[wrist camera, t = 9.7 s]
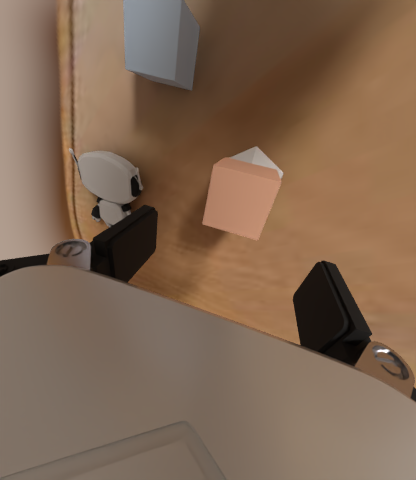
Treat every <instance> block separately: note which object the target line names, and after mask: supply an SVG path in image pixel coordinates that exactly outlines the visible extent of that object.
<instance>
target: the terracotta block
mask: <svg viewBox="0 0 416 480" xmlns="http://www.w3.org/2000/svg"><path fill="white" fill-rule="evenodd" d="M281 183H282V182H281V179H280V176H279V174H278V171H277V170H276V169H272V168H268V167H264V166H260V165H256V164H252V163H248V162H244V161H240V160H236V159H232V158H228V157H224V158H223V159H221V160H220V161H219V162H217V163H216V164H214V165H213V171H212V176H211V181H210V186H209V191H208V196H207V202H206V207H205V212H204V217H203V222H202V224H203V225H207V226H210V227H214V228H217V229H220V230H224V231H227V232H231V233H234V234H237V235H241V236H244V237H248V238H251V239H254V240H258V239H259V237H260V234H261V232H262V229H263V227H264V224H265V222H266V220H267V217H268V215H269V212H270V210H271V207H272V205H273V202H274V200H275V197H276V195H277V192H278V190H279V188H280V185H281Z"/></svg>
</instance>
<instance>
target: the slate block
mask: <svg viewBox="0 0 416 480" xmlns="http://www.w3.org/2000/svg"><path fill="white" fill-rule="evenodd" d="M123 3H124V37H125V69H126V70H129V71H131V72H133V73H135V74H138V75H140V76H142V77H144V78H146V79H149V80H151V81H154V82H158V83H162V84H167V85H171V86H175V87H179V88H183V89H187V90H191V91H192V86H193V79H194V71H195V63H196V55H197V47H198V39H199V31H200V26H199V25H198V23H197V21H196V20H195V18H194V16H193V15H192V13H191V11H190V10H189V8H188V6H187V5H186V3H185V1H184V0H123Z"/></svg>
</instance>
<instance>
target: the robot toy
mask: <svg viewBox="0 0 416 480" xmlns="http://www.w3.org/2000/svg"><path fill="white" fill-rule="evenodd" d="M69 151H70V153H71V154H72V156H73V158H74V160H75V162H76V164H77V166H78V170H79V173H80V177H81V180H82V183H83V184H84V186H85V187H86V188H87V189H88V190H89V191H90V192H92V193H93V194H95V195H96V196H98V199H97V202H98V205H96V206H95V207H94V208H93V210H92V218H93V219H94V220H95V219H96V221H97V222H100V220H101V218H102V219H103V220H104V221H105V223H106V225H107V226H109V227H111V226H113V225H114V224H116V223H117V222H119V221H120V220H122V219H123V218H125V217H126V216H128V215H130V214H131V212H130V209H131V207H130V205H129V202H131V201H133V200H135V199H136V198H137V197H138V196H139V195H140V194H141V191H142V189H143V185H142V184H141V179H140V175H139V168H137V167H136V168H135V167H134V166H133V165H132V164H131V163H130V162H129V161H128V160H126V159H124V158H123V157H121V156H119V155H116V154H114V153H112V152H108V151H93V152H88V153H84V154H82V155H81V156H80V157H79V160H78V161H77V159H76V157H75V155H74V153H73V150H72V149H71V148H69Z"/></svg>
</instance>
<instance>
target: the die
mask: <svg viewBox="0 0 416 480" xmlns="http://www.w3.org/2000/svg"><path fill="white" fill-rule="evenodd" d="M230 158H232V159H236V160H240V161H244V162H248V163H252V164H256V165H260V166H264V167H268V168H272V169H276V170H277V171H278V174H279V176H280V179H281V178H282V176H283V172H282V171H281V170H280V169H279V168H278V167H277V166H276V165H275V164H274V163H273V162H272V161H271V160H270V159H269V158H268V157H267V156H266V155H265V154H264V153H263V152H262V151H261V150H260V149H259V148H258V147H257V146H255V147H253V148H251V149H248V150H246V151H244V152H242V153H239V154H237V155H235V156H232V157H230Z"/></svg>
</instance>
